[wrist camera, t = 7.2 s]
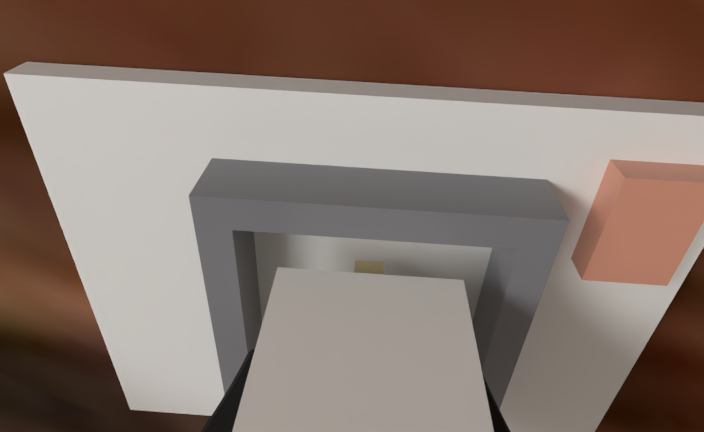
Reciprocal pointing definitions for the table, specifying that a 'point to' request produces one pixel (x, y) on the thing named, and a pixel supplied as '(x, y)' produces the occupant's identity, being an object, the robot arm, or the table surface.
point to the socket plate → (368, 218)
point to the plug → (364, 356)
